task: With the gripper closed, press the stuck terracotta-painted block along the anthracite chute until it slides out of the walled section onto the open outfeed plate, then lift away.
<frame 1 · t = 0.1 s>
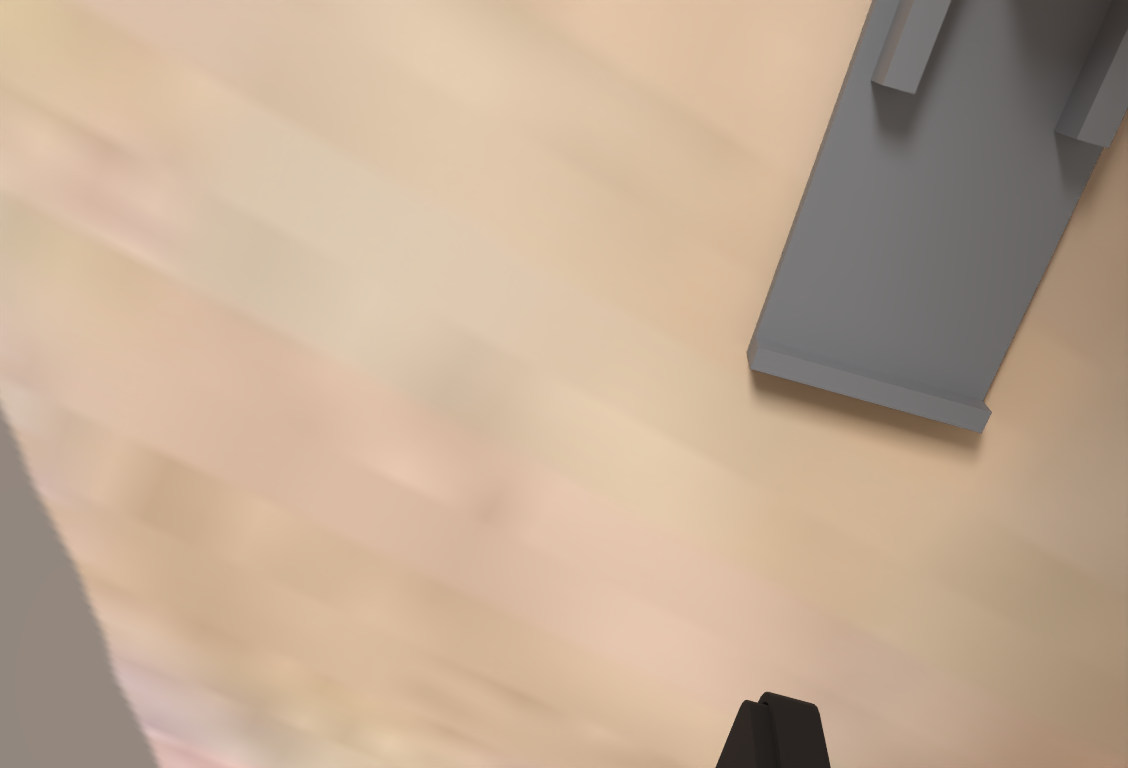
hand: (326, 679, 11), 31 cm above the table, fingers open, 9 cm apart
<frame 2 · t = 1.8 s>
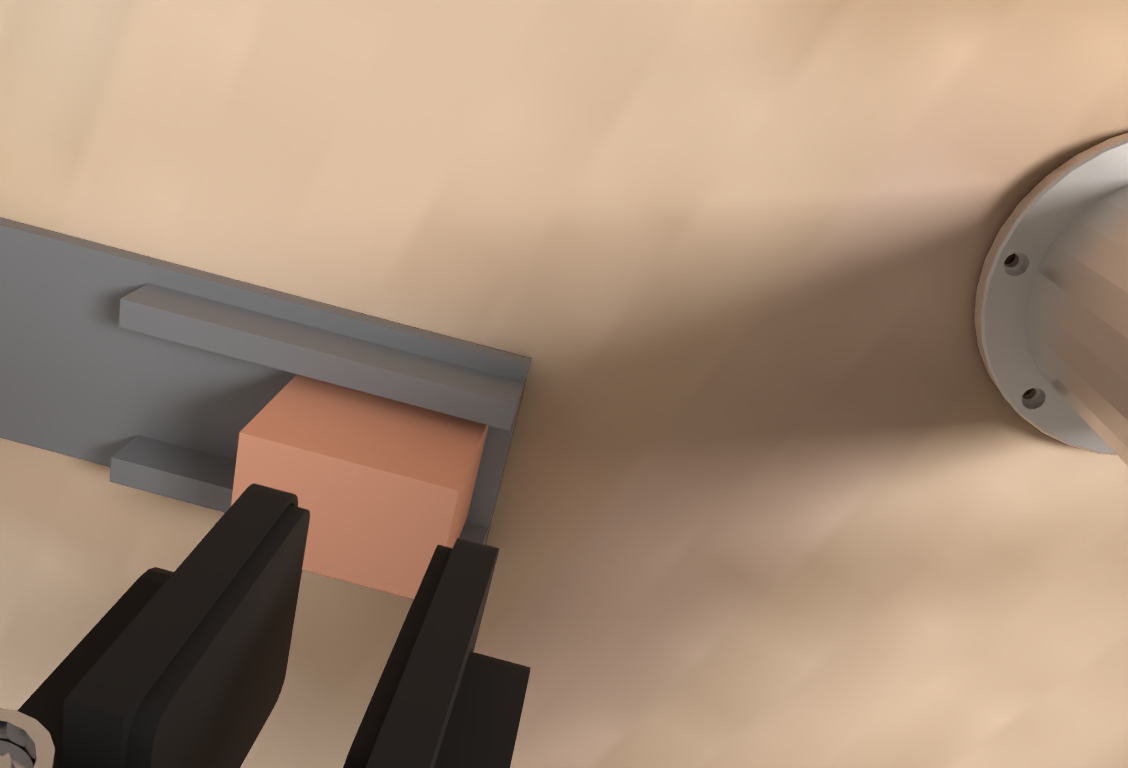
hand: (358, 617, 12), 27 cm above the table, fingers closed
block: (365, 478, 38), point 4 cm above the table, slide at 0.0 cm
chute: (240, 391, 42), on the table
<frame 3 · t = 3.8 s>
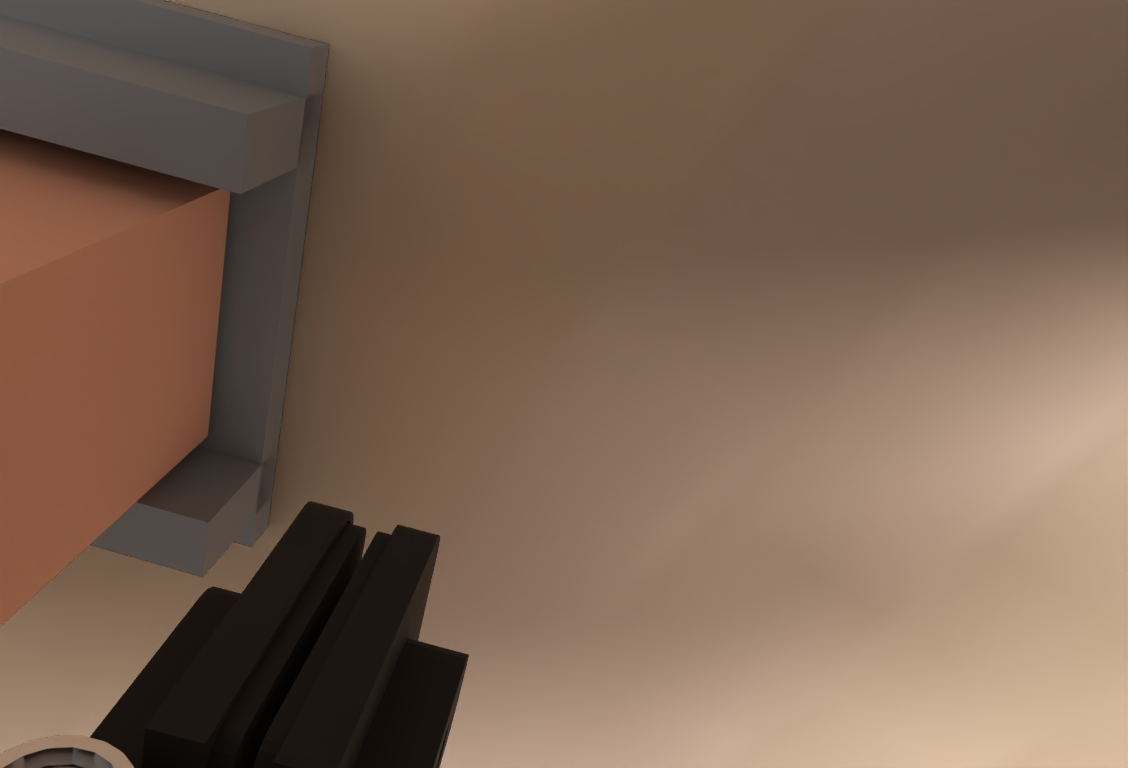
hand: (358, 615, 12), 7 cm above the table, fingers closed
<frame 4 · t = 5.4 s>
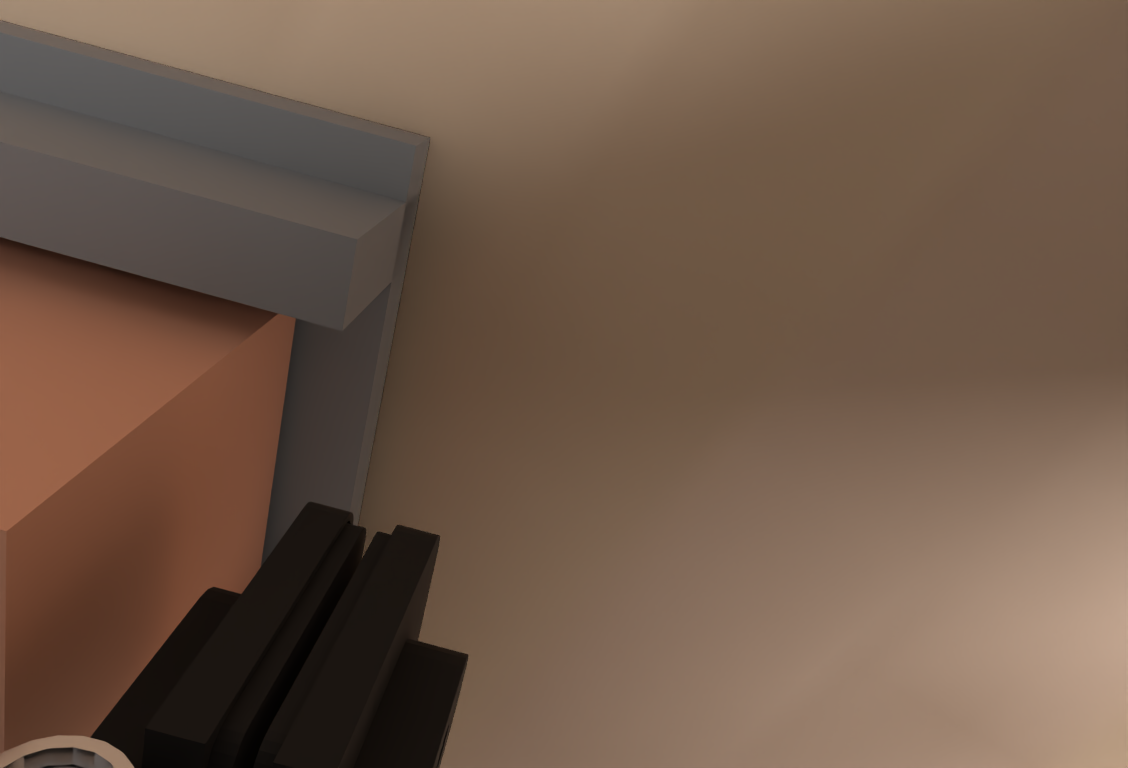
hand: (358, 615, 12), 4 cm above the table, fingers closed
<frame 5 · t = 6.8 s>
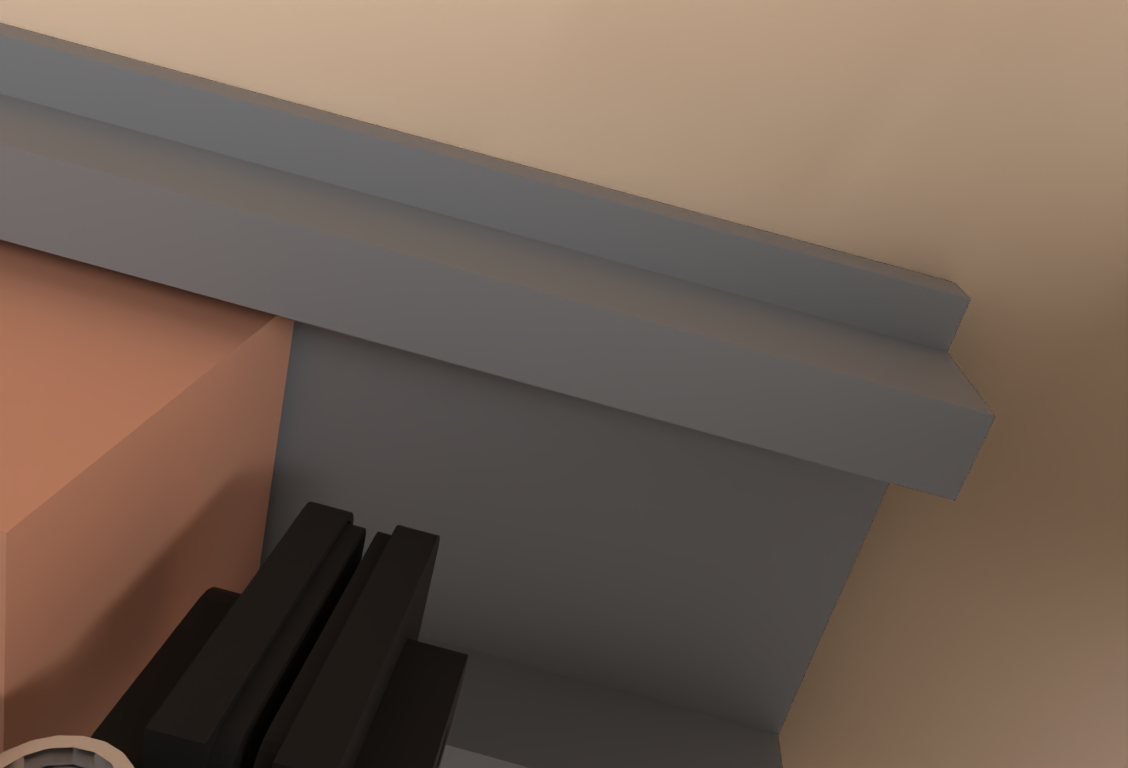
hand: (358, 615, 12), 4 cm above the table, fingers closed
chute: (133, 372, 16), on the table
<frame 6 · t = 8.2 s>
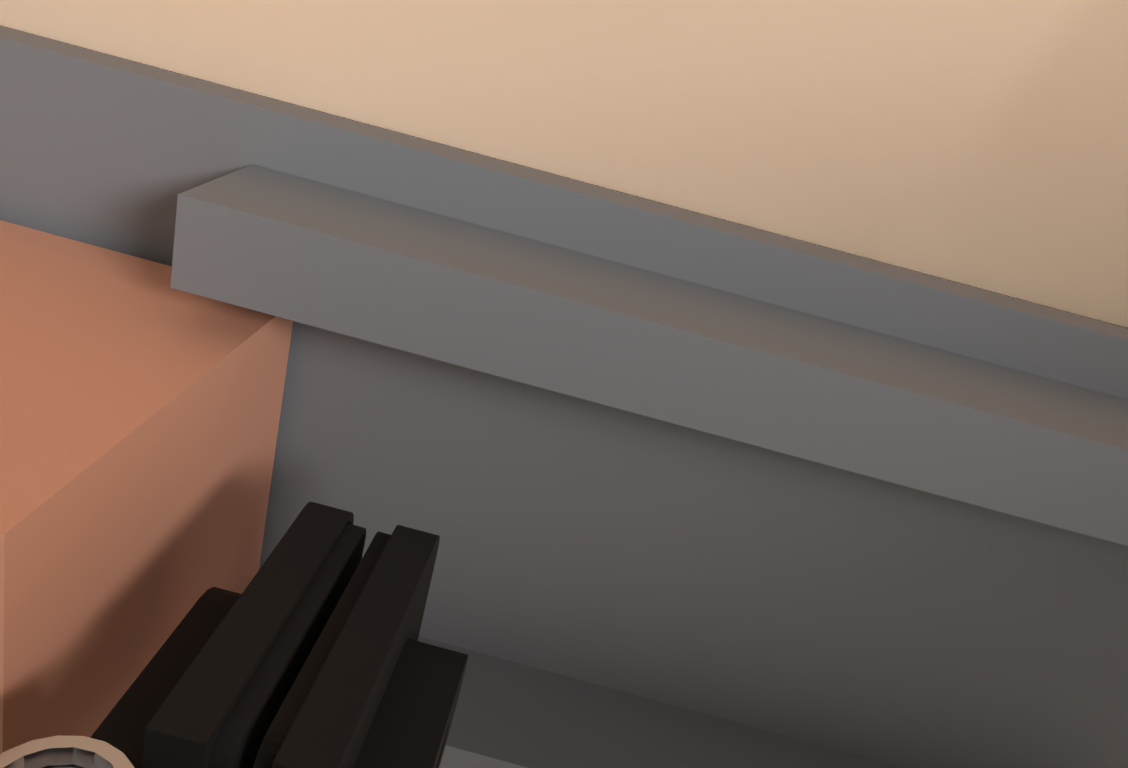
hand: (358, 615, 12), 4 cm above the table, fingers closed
chute: (478, 467, 16), on the table
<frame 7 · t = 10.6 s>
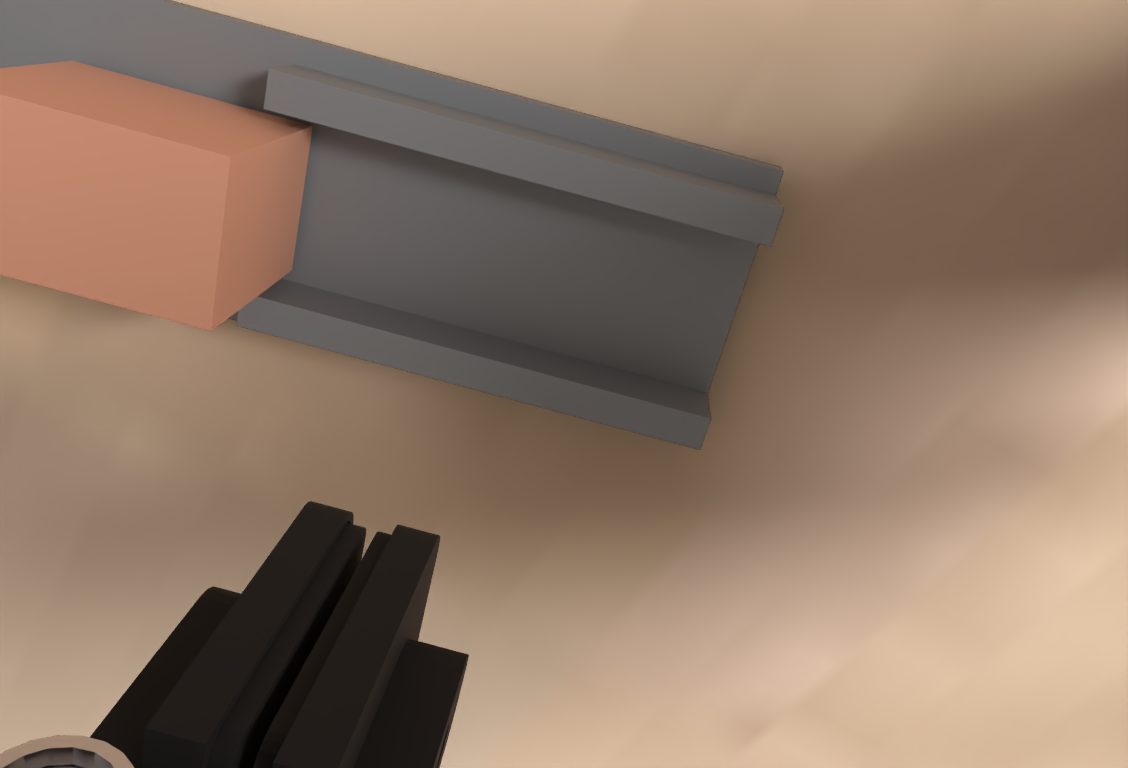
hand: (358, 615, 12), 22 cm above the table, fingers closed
block: (137, 186, 29), point 4 cm above the table, slide at 14.0 cm
chute: (398, 217, 33), on the table
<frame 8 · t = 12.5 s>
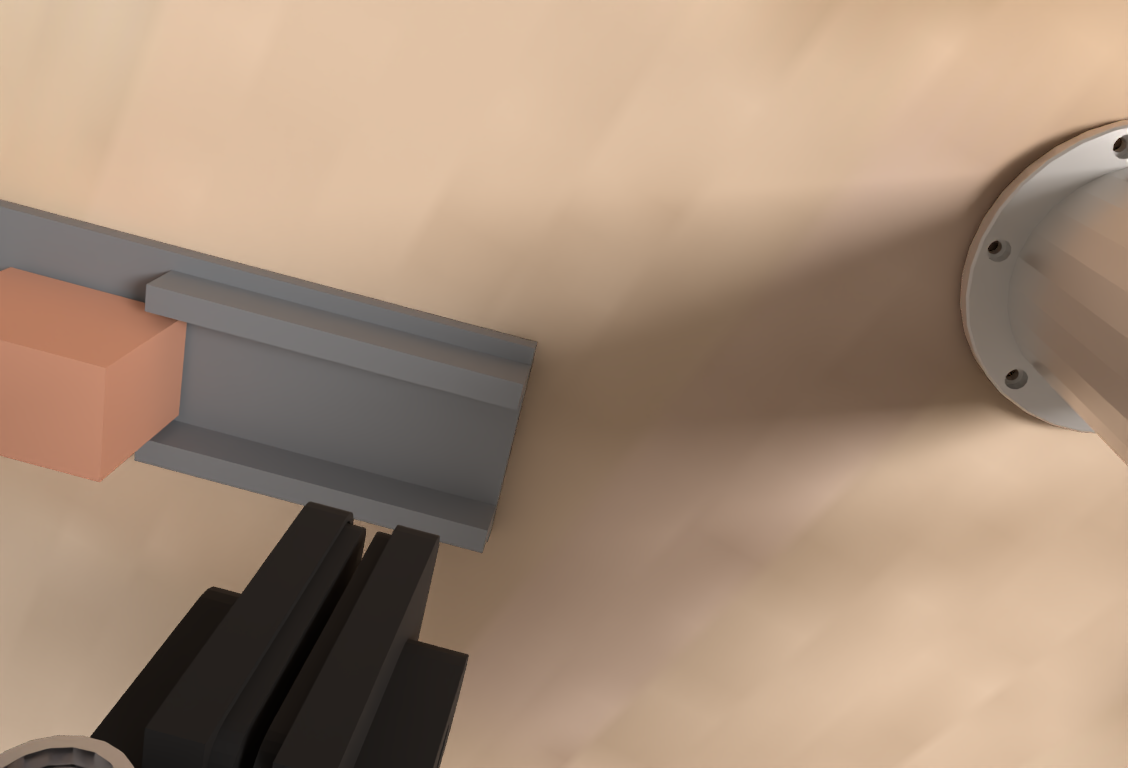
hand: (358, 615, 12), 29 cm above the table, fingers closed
block: (52, 369, 39), point 4 cm above the table, slide at 14.0 cm
chute: (258, 374, 43), on the table
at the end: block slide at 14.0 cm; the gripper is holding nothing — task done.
